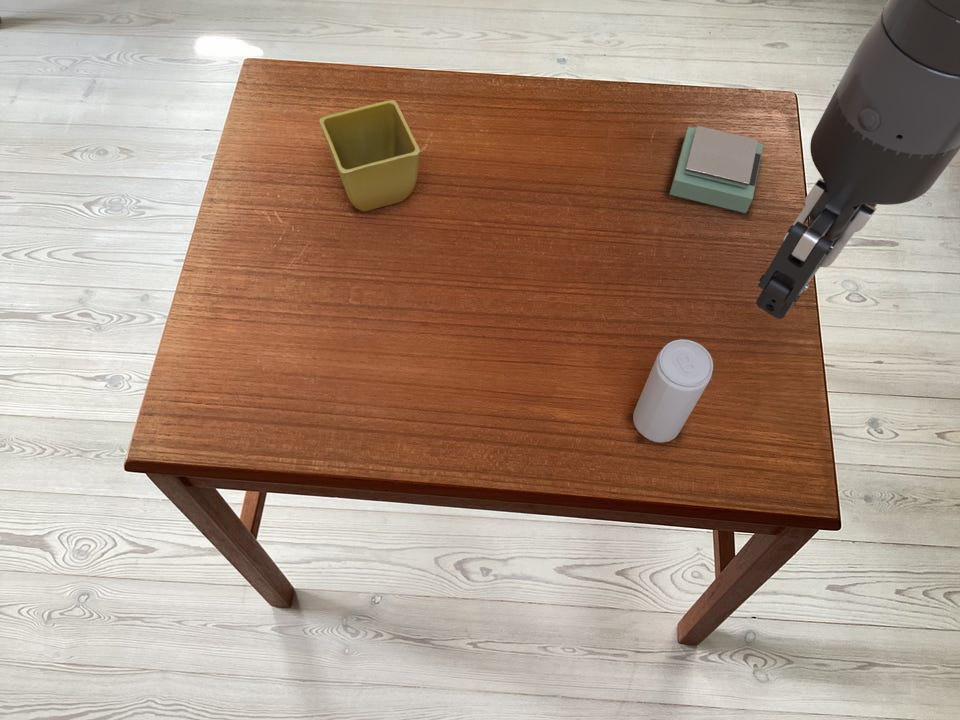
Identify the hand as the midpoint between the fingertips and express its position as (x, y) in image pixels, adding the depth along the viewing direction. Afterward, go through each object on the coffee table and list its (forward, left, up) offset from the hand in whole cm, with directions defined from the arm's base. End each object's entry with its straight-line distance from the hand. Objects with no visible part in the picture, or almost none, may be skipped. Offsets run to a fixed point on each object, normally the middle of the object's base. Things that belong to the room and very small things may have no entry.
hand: (798, 273), depth 57 cm
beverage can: (+5, +4, -23) cm, 23 cm away
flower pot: (+42, -15, -23) cm, 50 cm away
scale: (+5, -30, -22) cm, 38 cm away
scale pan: (+5, -30, -19) cm, 36 cm away
